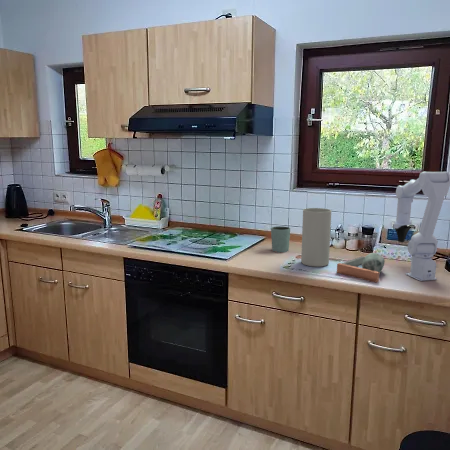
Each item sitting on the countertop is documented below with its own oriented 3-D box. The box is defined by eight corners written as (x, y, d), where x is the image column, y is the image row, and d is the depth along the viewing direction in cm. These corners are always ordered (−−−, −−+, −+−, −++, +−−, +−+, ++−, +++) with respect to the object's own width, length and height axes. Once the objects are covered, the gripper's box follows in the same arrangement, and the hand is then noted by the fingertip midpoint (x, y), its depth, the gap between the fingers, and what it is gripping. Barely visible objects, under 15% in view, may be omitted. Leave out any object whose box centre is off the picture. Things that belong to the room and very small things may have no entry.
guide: (361, 262, 195) (362, 254, 194) (401, 271, 181) (402, 262, 181) (334, 272, 180) (335, 263, 179) (376, 282, 166) (377, 273, 166)
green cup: (280, 253, 211) (281, 230, 209) (266, 250, 219) (266, 227, 216) (293, 250, 217) (294, 228, 215) (279, 247, 225) (280, 225, 223)
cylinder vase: (331, 261, 196) (334, 209, 192) (325, 268, 185) (328, 212, 181) (305, 258, 202) (307, 207, 197) (297, 265, 191) (299, 210, 186)
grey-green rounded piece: (386, 271, 170) (377, 248, 172) (364, 279, 174) (355, 256, 176) (391, 271, 182) (382, 249, 184) (370, 278, 186) (361, 257, 188)
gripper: (402, 209, 197) (399, 238, 199) (387, 213, 187) (385, 242, 189) (417, 211, 192) (414, 240, 194) (403, 215, 182) (400, 245, 184)
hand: (401, 241), depth 191 cm, fingers closed
